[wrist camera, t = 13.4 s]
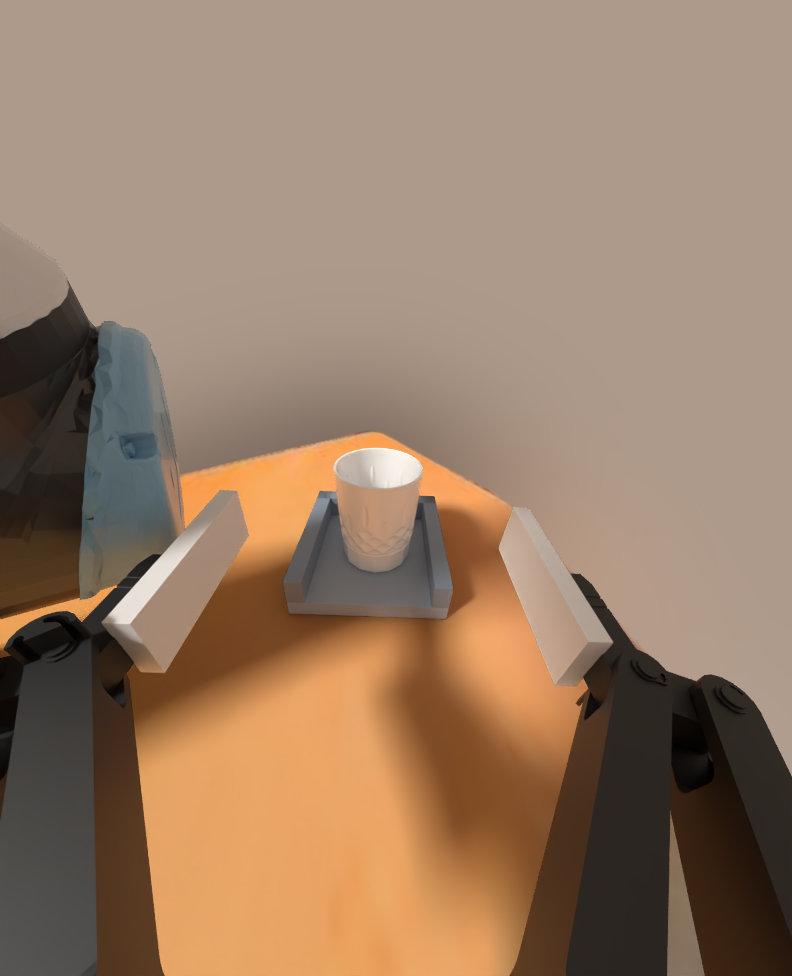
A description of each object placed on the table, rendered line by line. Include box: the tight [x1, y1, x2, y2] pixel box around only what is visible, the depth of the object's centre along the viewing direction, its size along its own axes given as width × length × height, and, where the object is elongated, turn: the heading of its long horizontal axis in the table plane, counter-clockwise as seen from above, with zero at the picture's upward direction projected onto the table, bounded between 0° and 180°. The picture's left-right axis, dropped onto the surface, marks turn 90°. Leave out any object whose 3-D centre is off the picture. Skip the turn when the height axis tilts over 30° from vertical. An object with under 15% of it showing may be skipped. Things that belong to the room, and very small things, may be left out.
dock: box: [282, 491, 453, 619], centre depth 31 cm, size 14×14×4 cm
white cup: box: [334, 448, 423, 573], centre depth 29 cm, size 8×8×10 cm
